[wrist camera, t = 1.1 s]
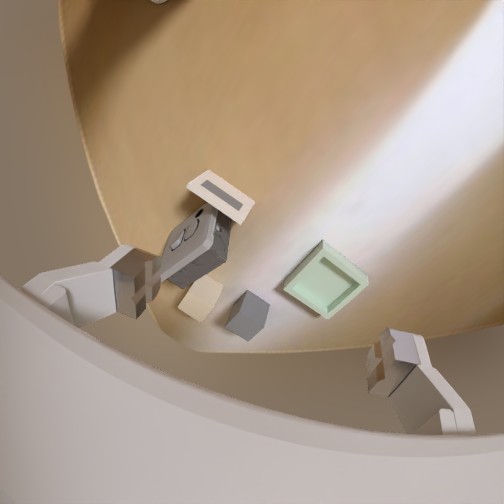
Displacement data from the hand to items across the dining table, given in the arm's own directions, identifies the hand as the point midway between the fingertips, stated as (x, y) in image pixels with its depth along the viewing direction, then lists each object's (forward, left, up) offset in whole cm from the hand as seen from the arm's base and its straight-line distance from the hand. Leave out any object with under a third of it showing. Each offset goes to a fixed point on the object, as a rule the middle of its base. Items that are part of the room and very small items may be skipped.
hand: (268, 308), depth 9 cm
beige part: (0, -23, -25) cm, 34 cm away
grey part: (+7, -21, -25) cm, 34 cm away
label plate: (-5, -8, -25) cm, 27 cm away
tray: (+12, -10, -25) cm, 30 cm away
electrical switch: (-5, -15, -26) cm, 30 cm away
